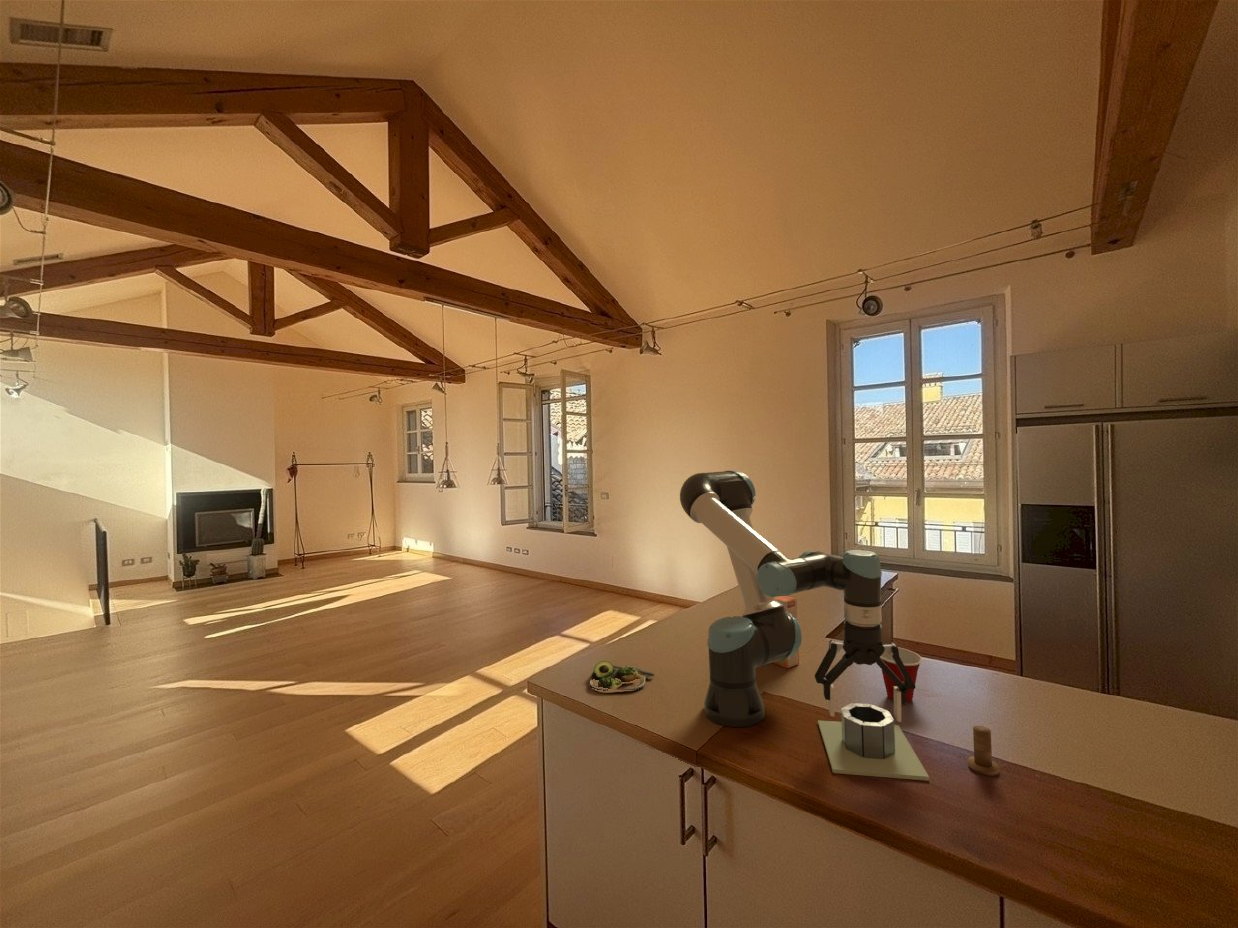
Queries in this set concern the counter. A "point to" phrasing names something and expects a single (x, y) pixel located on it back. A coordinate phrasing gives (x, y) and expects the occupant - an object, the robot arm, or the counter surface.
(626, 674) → the salad plate
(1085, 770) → the counter surface
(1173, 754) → the counter surface
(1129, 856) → the counter surface
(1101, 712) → the counter surface
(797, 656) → the cracker box
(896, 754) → the sage mat
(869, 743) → the grey hollow octagonal ring
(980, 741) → the tan peg with base
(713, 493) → the robot arm
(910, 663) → the plastic cup
